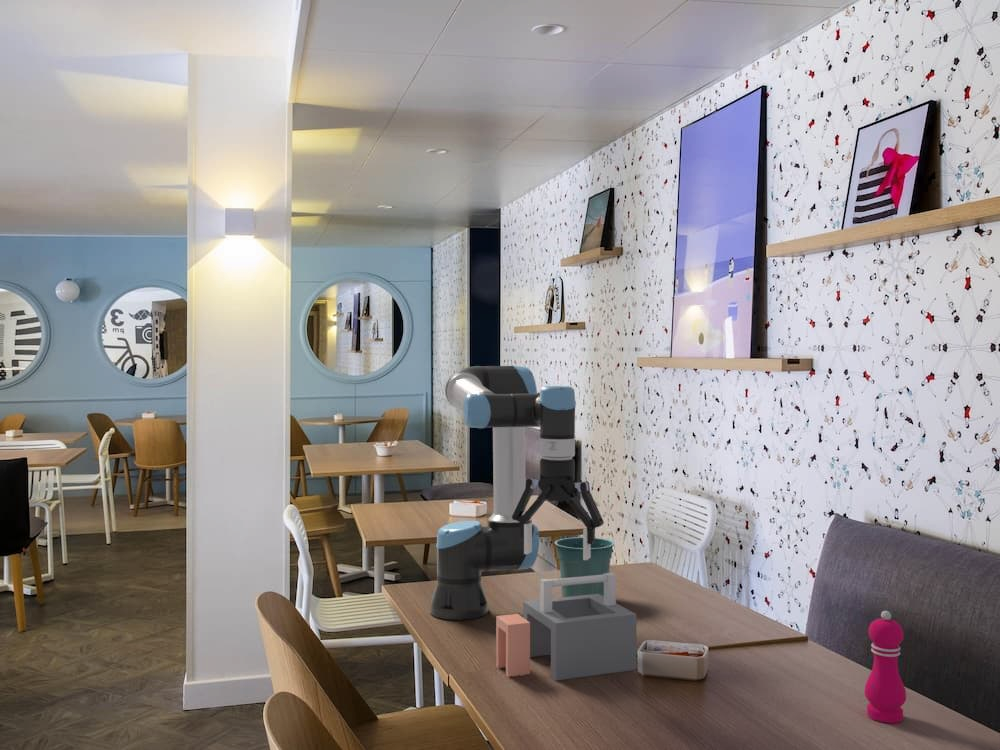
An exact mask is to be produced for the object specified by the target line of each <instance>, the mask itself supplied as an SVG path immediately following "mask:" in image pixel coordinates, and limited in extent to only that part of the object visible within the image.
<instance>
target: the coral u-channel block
mask: <svg viewBox="0 0 1000 750" xmlns="http://www.w3.org/2000/svg"><path fill="white" fill-rule="evenodd" d="M495 623H496V624H495V625H496V626H495V631H496V633H495V635H496V637H495V639H496V640H495V641H496V642H495V643H496V644H495V660H496V661H495V663H496V665H495V666H496V668H497V669H502V668H505V676H506V677H507V678H511V676H512V677H519V676H518V675H520V676H527V675H530V674H531V664H530V663H531V657H530V622H528V621H527V620H526V619H524V618H523V616H521V614H518V613H513V614H505V615H502V614H501V615H496V619H495ZM526 674H527V675H526Z"/></svg>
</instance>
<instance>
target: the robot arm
mask: <svg viewBox="0 0 1000 750" xmlns="http://www.w3.org/2000/svg"><path fill="white" fill-rule="evenodd" d="M536 384H537V383H536V379H535V376H534V374H533V372H532V370H531V369H529V368H528V367H526V366H520V365H519V366H518V365H485V366H483V365H482V366H480V365H475V366H468V367H465V368H462V369H460V370H458V371H456V372H455V373H453V374H452V375H451V376H450V377H449V378H448V379H447V381H446V384H445V388H444V391H445V397H446V399H447V402H449V404H450V405H451V407H453V408H455V409H456V410H459V411H463V413H462V415H463V420H464V424H465V426H466V427H468V428H474V429H475V428H477V429H486V428H489V429H490V428H492V453H493V454H492V461H493V463H492V465H493V468H492V469H493V471H492V472H493V473H492V474H493V476H492V478H493V482H492V483H493V513H492V514H491V515H490V517H488V520H487V523H488V524H487V526H482V523H481V522H480V521H477V520H461V521H455V522H452V523H448V524H445V525H443V526H442V527H440V528H439V530H438V531H437V534H436V535H437V536H436V545H435V547H436V585H435V588H434V591H433V593H432V597H431V601H430V604H429V605H430V607H429V608H430V609H429V610H430V611H429V612H430V614H431V615H432V616H433V617H436V618H439V619H444V620H452V621H453V620H454V621H455V620H457V621H458V620H459V621H460V620H461V621H463V620H472V619H477V618H481V617H483V616H486V615H487V614H488V611H489V610H488V609H489V603H488V601H487V596H486V593H485V591H484V587H483V584H482V572H497V571H498V572H499V571H519V570H527V569H530V568H532V567H533V566H534V564H535V563H536V560H537V557H538V555H539V554H538V553H539V546H540V535H539V533H540V531H539V527H538V526H537V525H536V524H534V523H532V520H533V519H532V517H533V516H534V515H535V514H536V512H537V511H538V510H539V509H540V508H541V506H543V504H544V503H545V502H546V501H547V500H548V502H554V501H556V502H558V503H559V502H562V503H563V502H566V504H567V505H569V506H570V508H572V510H573V511H574V513H575V514H576V515H577V517H578V518H579V519H580V520H581V522H582V524H583V525H584V526H585V528H583V529H582V530H583V531H582V537H583V560H588V559H589V558H591V544H593V543H594V542H595V538H596V528H600V527H601V526H603V525H604V523H605V522H604V519H603V517H602V515H601V513H600V511H599V509H598V506H597V504H596V501H595V500H594V497H593V495H592V493H591V490H590V487H591V486H590V483H589V481H587V480H585V481H581V482H576V480H575V473H576V472H575V471H576V470H575V468H576V462H575V459H574V457H575V455H576V436H575V434H576V405H577V404H576V395H575V389H574V388H573V387H572V386H569V385H567V386H565V385H547V386H542V387H541V388H540V392H538V389H537V385H536ZM525 428H539V441H540V442H539V456H541V457H542V458H540V460H539V479H535V478H534V477H530V478H527V479H526V429H525ZM537 487H538V488H539V490H540V491H541V493H540V494H539V495H538V496H537V497H536V499H535V501H534V502H533V503H532V504H531V505H530V506H529V508H527V505H528V503H529V501H530V500H531V498H532V496H533V493H534V491H535V489H537ZM576 489H577V490H578V492H579V493H580V495H581V497H582V500H583V502H584V504H585V507H586V509H587V510H586V509H585V508H584V506H583V505H582V503H580V501H579V499H578V497H577V496H576V495H575V493H574V492H575V490H576ZM587 511H588V512H587Z"/></svg>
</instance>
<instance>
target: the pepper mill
mask: <svg viewBox="0 0 1000 750" xmlns="http://www.w3.org/2000/svg"><path fill="white" fill-rule="evenodd" d="M880 617H881V618H876V619H875V620H872V622H870V625H869V626H868V637H869V638H870V640H871V641H872V643H871V653H873V664H872V669H871V671H870V673H869V676H868V677H867V679H866V682H865V684H864V685H865V686H864V697H865V698H866V700H868V702H869V703H868V704H867V705H866V714H867V717H868V718H869V719H871V718H872V719H871V720H873V719H874V721H875V720H877V721H876V722H879V721H881V722H880V723H883V722H886V723H885V724H899V723H901V722H903V720H904V709H903V708H902V706H903V705H904V704H905V703H906V701H907V691H906V687H905V685H904V683H903V681H902V678H901V676H900V673H899V672H900V671H899V666H898V658H899V657H898V656H900V655H901V652H900V651H901V647H900V644H901V643H902V641H904V630H903V628H902V626H901V625H900V624H899V622H897V621H895V620H893V619H892V614H891V611H888V610H883V611H882V612H881V614H880ZM898 722H899V723H898Z"/></svg>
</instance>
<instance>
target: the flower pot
mask: <svg viewBox="0 0 1000 750" xmlns="http://www.w3.org/2000/svg"><path fill="white" fill-rule="evenodd" d="M554 546H556V551H557V553H556V554H557V558H558V562H559V572H560V573H559V575H560V579H561V578H571V577H582V576H593V575H603V574H604V573H610V566H611V559H612V556H613V555H612V553H613V547H614V546H615V542H614V541H613V540H610V539H608V538H607V539H606V538H601V537H595V542H594V543H593V544H591V558H589V559H588V560H583V536H582V537H581V536H580V537H579V536H578V537H577V536H575V537H567V538H561V539H558V540H556V541H554ZM591 594H600V595H602V596H604V582H597V583H587V584H577V585H566V586H561V596H562V597H571V596H581V595H591Z"/></svg>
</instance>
